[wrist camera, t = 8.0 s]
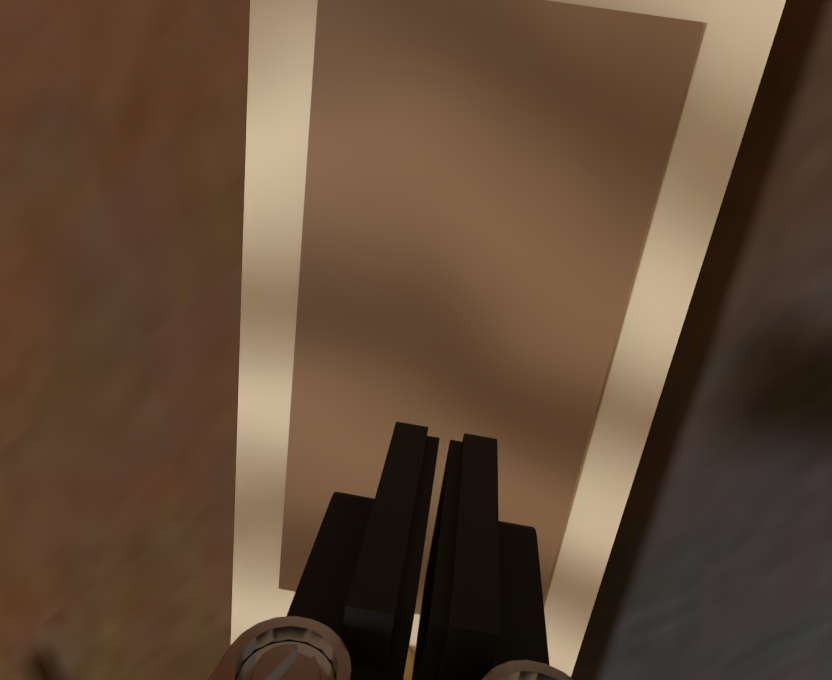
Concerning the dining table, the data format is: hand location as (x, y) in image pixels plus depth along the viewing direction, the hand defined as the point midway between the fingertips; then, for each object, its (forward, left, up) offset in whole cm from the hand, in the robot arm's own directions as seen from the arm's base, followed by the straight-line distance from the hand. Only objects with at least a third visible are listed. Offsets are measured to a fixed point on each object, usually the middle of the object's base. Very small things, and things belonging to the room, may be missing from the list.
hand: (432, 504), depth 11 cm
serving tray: (0, 0, -8) cm, 8 cm away
